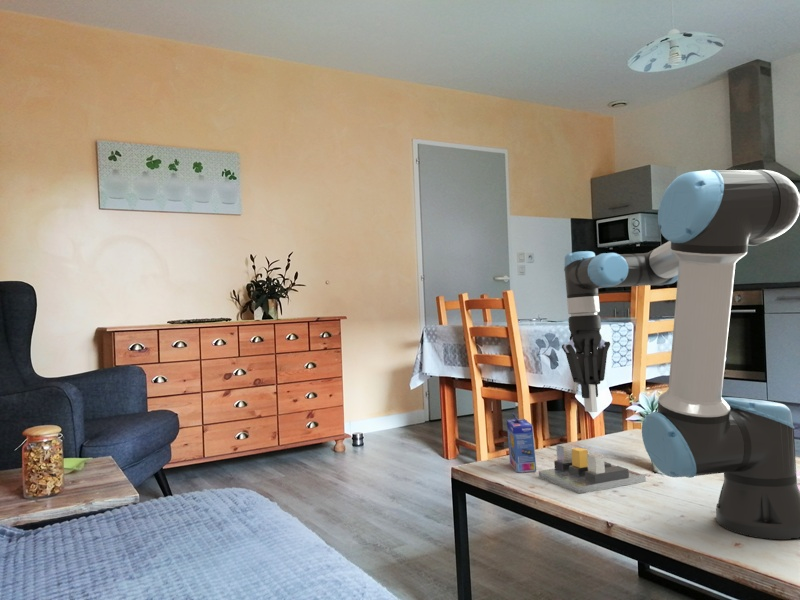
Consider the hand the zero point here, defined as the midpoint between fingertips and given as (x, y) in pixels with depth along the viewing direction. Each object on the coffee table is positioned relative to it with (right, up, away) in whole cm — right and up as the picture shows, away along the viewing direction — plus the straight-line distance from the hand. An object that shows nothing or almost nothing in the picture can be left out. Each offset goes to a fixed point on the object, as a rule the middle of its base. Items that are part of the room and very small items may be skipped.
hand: (591, 411), depth 145 cm
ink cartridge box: (-14, -18, +14) cm, 27 cm away
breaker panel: (0, -17, 0) cm, 17 cm away
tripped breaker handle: (-3, -13, -1) cm, 13 cm away
